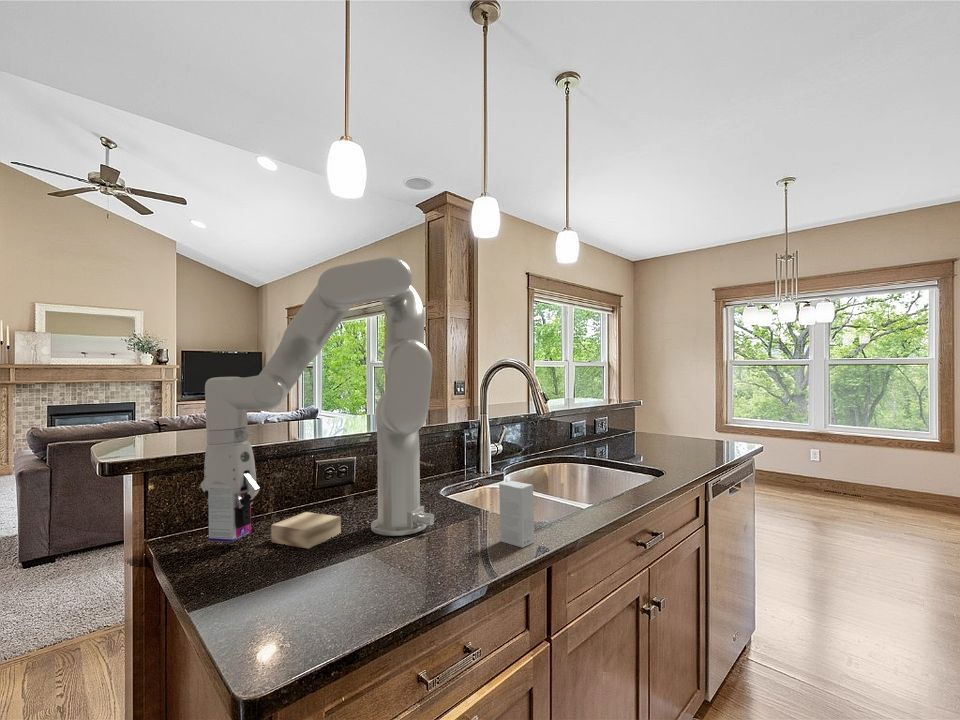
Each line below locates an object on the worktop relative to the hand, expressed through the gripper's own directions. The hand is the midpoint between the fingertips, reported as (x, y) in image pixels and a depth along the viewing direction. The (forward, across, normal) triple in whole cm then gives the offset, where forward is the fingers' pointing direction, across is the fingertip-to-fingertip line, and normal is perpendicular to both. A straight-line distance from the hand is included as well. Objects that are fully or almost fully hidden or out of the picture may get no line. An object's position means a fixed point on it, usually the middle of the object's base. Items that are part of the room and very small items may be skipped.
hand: (230, 523), depth 100 cm
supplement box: (+3, 0, 0) cm, 3 cm away
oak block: (+6, -10, -10) cm, 16 cm away
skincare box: (+7, -53, -24) cm, 59 cm away
